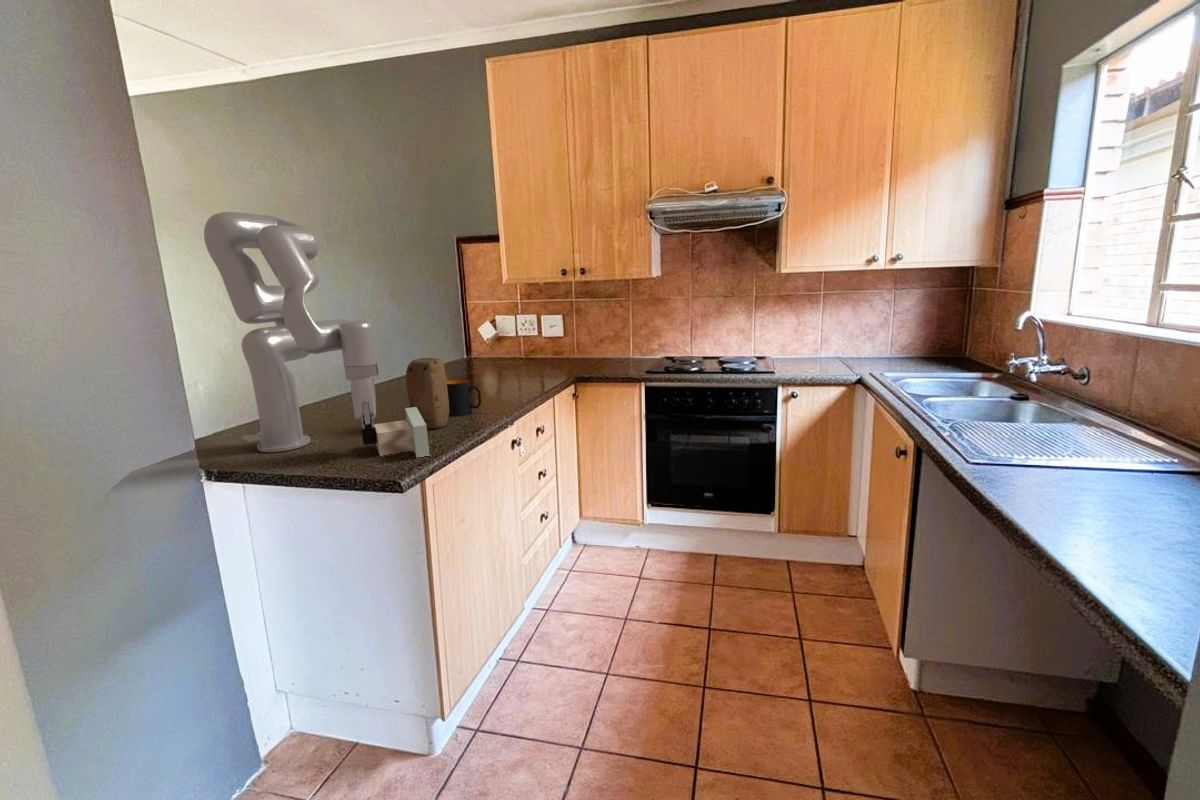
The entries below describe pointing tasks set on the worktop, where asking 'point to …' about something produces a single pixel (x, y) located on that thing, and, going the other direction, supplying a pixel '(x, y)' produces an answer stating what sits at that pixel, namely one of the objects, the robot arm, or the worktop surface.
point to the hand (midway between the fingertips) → (370, 443)
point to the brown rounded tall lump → (428, 390)
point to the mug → (461, 397)
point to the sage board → (418, 432)
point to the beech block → (393, 437)
